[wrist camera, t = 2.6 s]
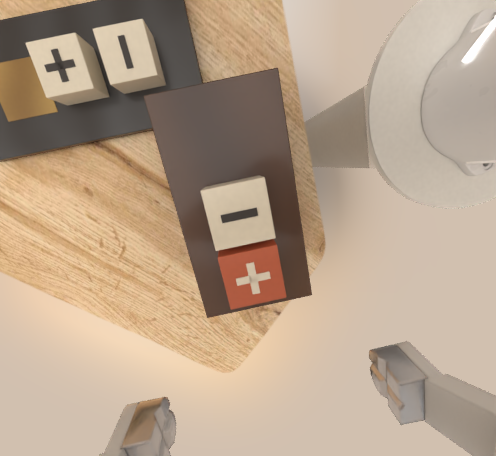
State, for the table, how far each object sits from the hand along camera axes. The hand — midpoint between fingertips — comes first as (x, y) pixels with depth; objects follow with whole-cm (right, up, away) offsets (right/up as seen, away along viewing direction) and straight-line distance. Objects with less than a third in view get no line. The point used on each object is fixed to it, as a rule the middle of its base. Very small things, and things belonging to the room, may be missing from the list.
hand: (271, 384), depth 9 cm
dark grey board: (-18, +22, +16) cm, 33 cm away
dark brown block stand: (-2, +10, +20) cm, 23 cm away
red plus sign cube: (-1, +3, +12) cm, 12 cm away
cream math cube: (-18, +22, +15) cm, 32 cm away
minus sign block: (-12, +23, +15) cm, 30 cm away
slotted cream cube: (-2, +8, +10) cm, 13 cm away
